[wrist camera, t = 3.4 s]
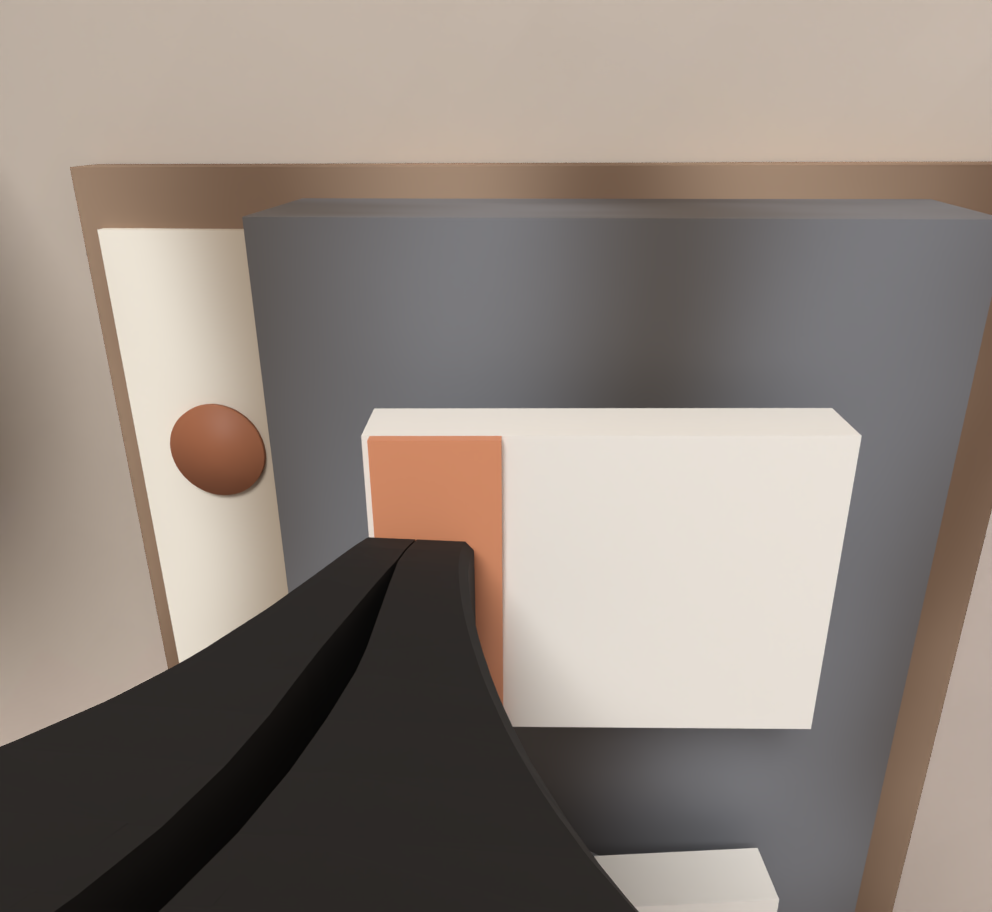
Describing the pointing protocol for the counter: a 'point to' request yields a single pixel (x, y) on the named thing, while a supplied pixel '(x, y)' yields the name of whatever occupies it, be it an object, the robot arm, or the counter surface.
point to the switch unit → (579, 384)
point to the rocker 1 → (632, 552)
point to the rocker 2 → (693, 880)
